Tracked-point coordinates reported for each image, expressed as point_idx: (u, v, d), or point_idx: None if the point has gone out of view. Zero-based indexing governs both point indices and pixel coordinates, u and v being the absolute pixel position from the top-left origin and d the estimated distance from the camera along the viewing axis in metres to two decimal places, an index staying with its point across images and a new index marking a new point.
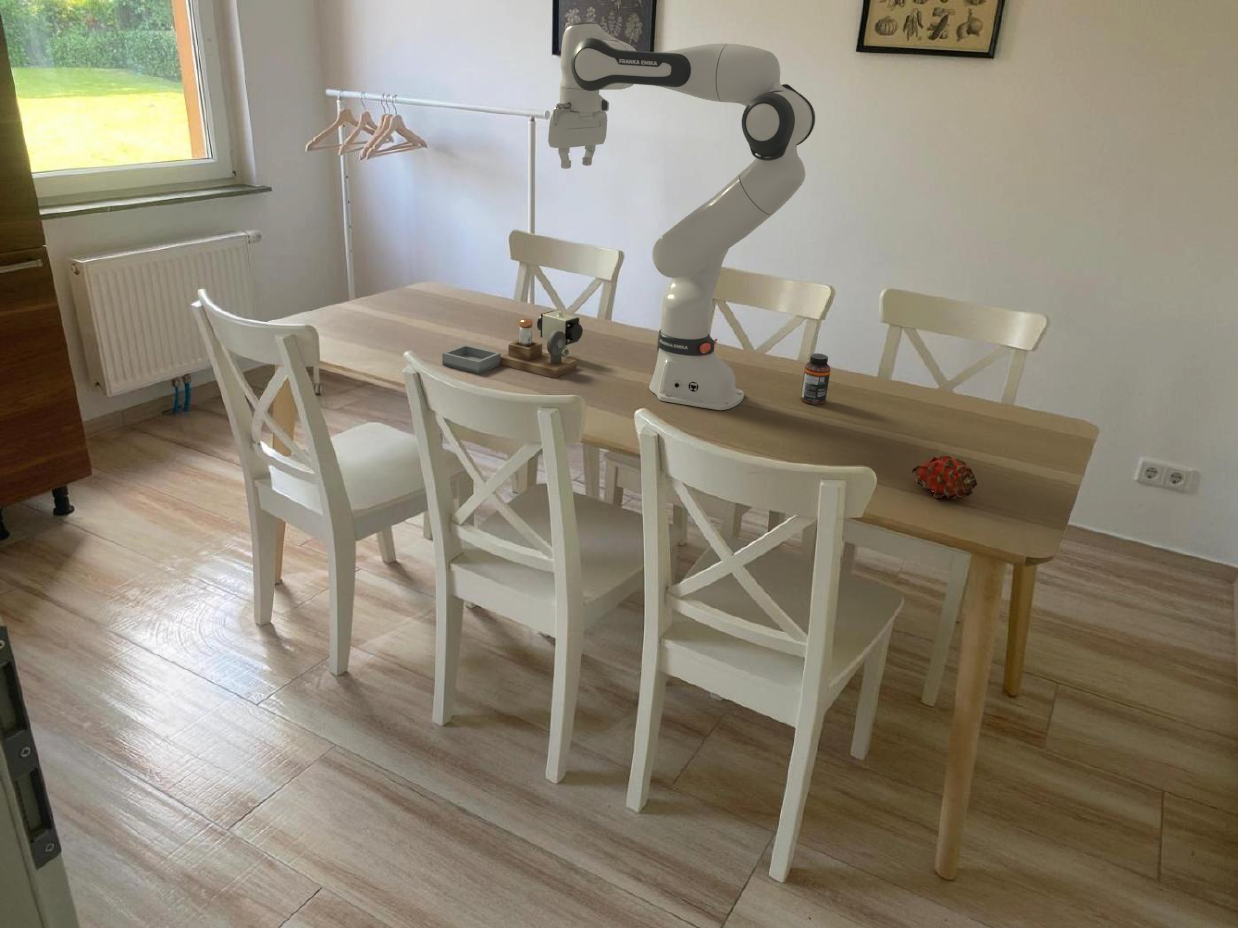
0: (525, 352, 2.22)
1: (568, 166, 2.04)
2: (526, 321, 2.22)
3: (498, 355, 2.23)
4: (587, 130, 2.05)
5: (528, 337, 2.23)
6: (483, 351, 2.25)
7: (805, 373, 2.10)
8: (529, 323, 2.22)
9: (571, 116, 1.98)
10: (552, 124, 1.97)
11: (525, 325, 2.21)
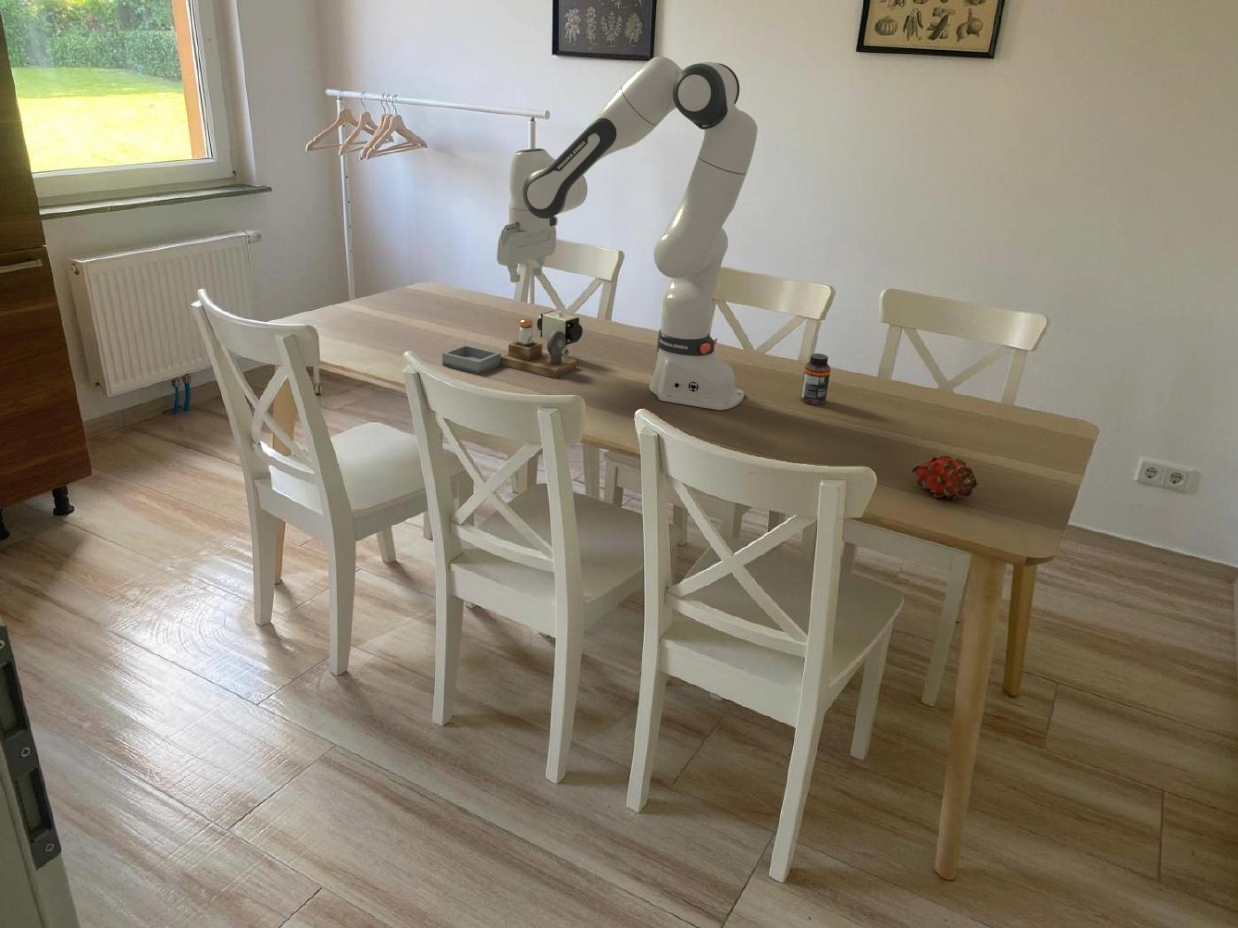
0: (525, 352, 2.22)
1: (517, 280, 2.14)
2: (526, 321, 2.22)
3: (498, 355, 2.23)
4: (535, 245, 2.15)
5: (528, 337, 2.23)
6: (483, 351, 2.25)
7: (805, 373, 2.10)
8: (529, 323, 2.22)
9: (519, 236, 2.08)
10: (500, 244, 2.07)
11: (525, 325, 2.21)
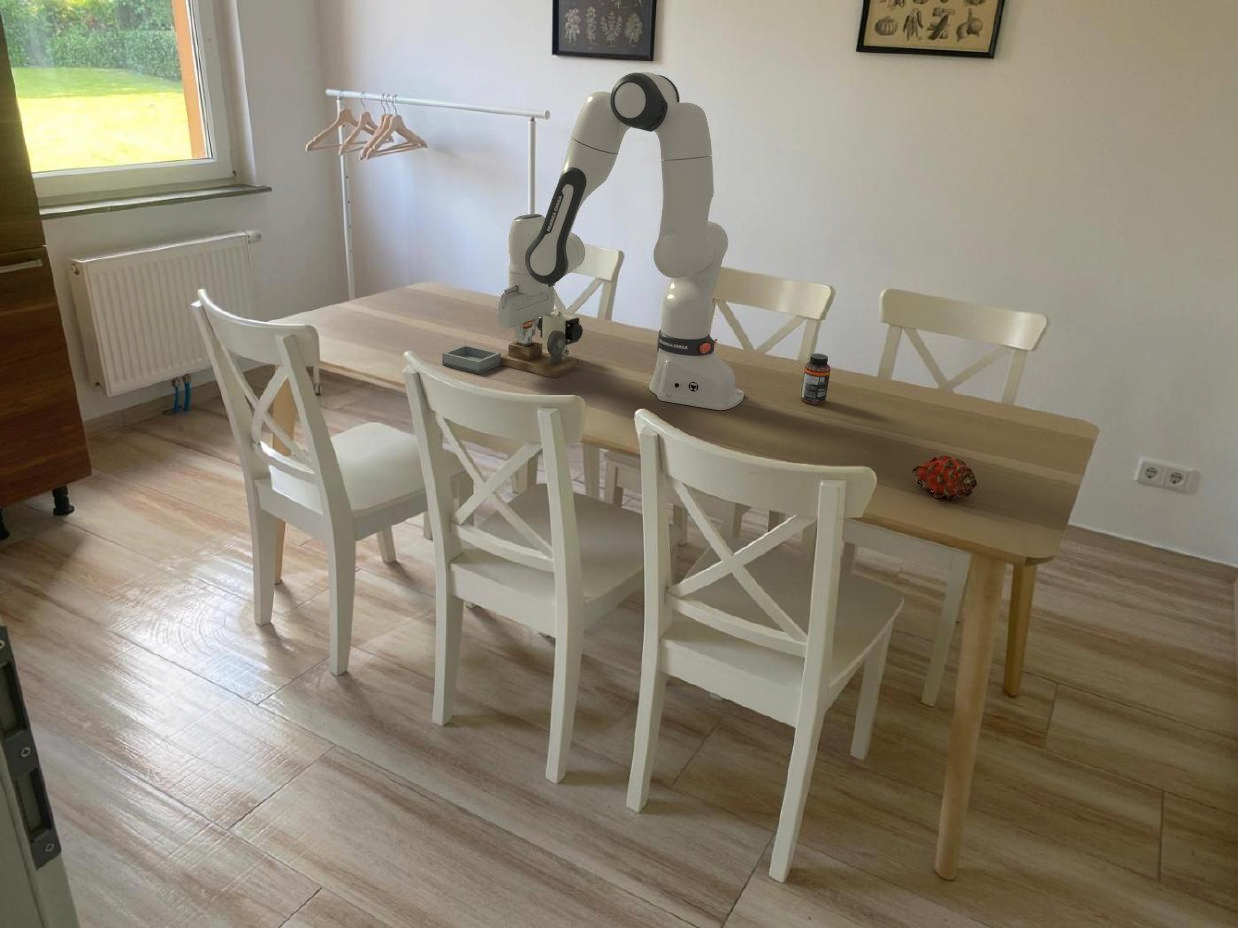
0: (525, 352, 2.22)
1: (522, 338, 2.22)
2: None
3: (498, 355, 2.23)
4: (535, 306, 2.21)
5: (528, 337, 2.23)
6: (483, 351, 2.25)
7: (805, 373, 2.10)
8: (529, 323, 2.22)
9: (518, 299, 2.14)
10: (500, 307, 2.13)
11: (525, 325, 2.21)
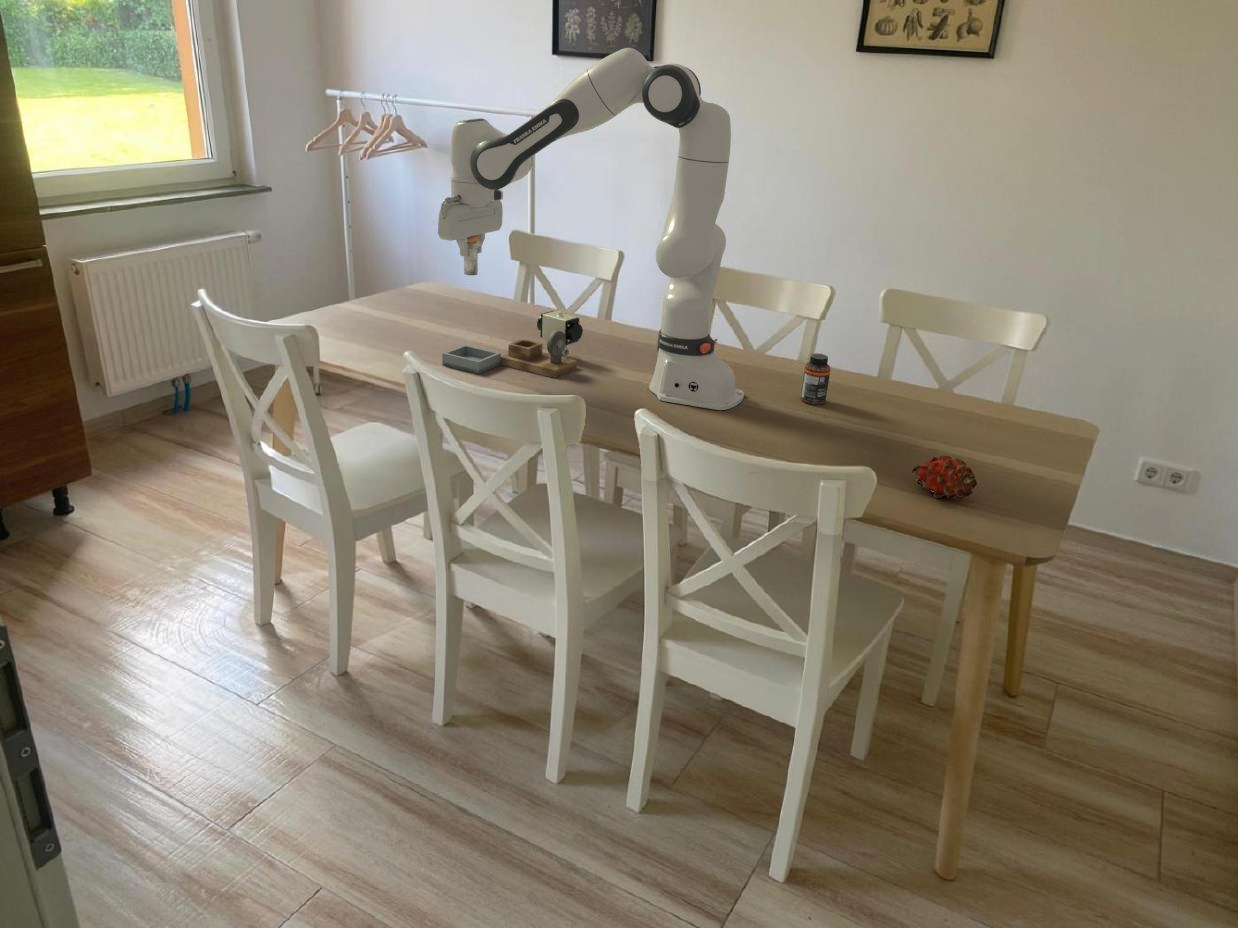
0: (525, 352, 2.22)
1: (467, 254, 2.09)
2: (471, 236, 2.10)
3: (498, 355, 2.23)
4: (480, 220, 2.09)
5: (473, 253, 2.11)
6: (483, 351, 2.25)
7: (805, 373, 2.10)
8: (474, 238, 2.09)
9: (460, 209, 2.02)
10: (441, 217, 2.01)
11: (470, 240, 2.09)
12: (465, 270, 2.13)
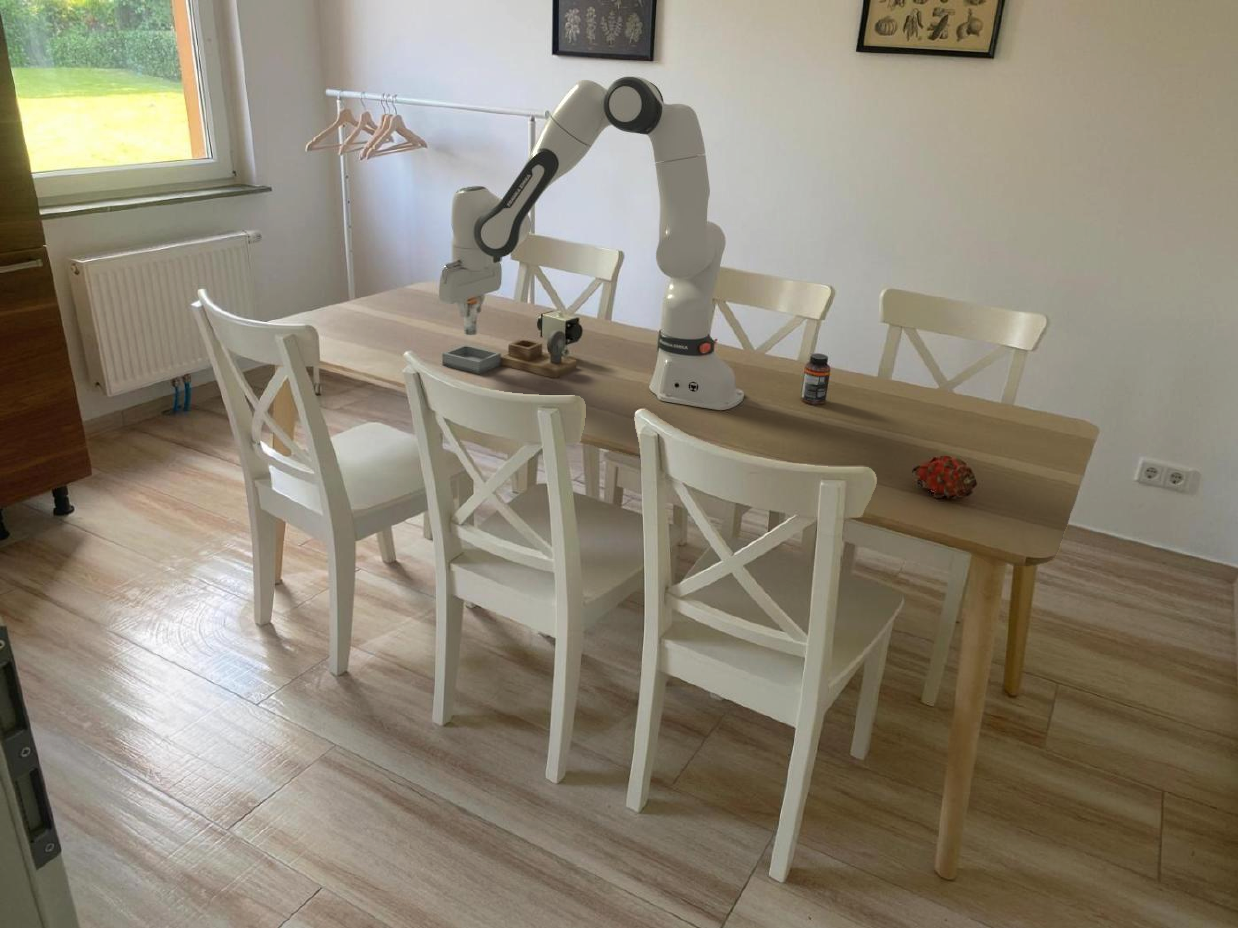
0: (525, 352, 2.22)
1: (467, 315, 2.15)
2: None
3: (498, 355, 2.23)
4: (479, 282, 2.15)
5: (472, 314, 2.17)
6: (483, 351, 2.25)
7: (805, 373, 2.10)
8: (474, 299, 2.15)
9: (460, 274, 2.08)
10: (442, 282, 2.07)
11: (470, 302, 2.15)
12: (465, 330, 2.19)
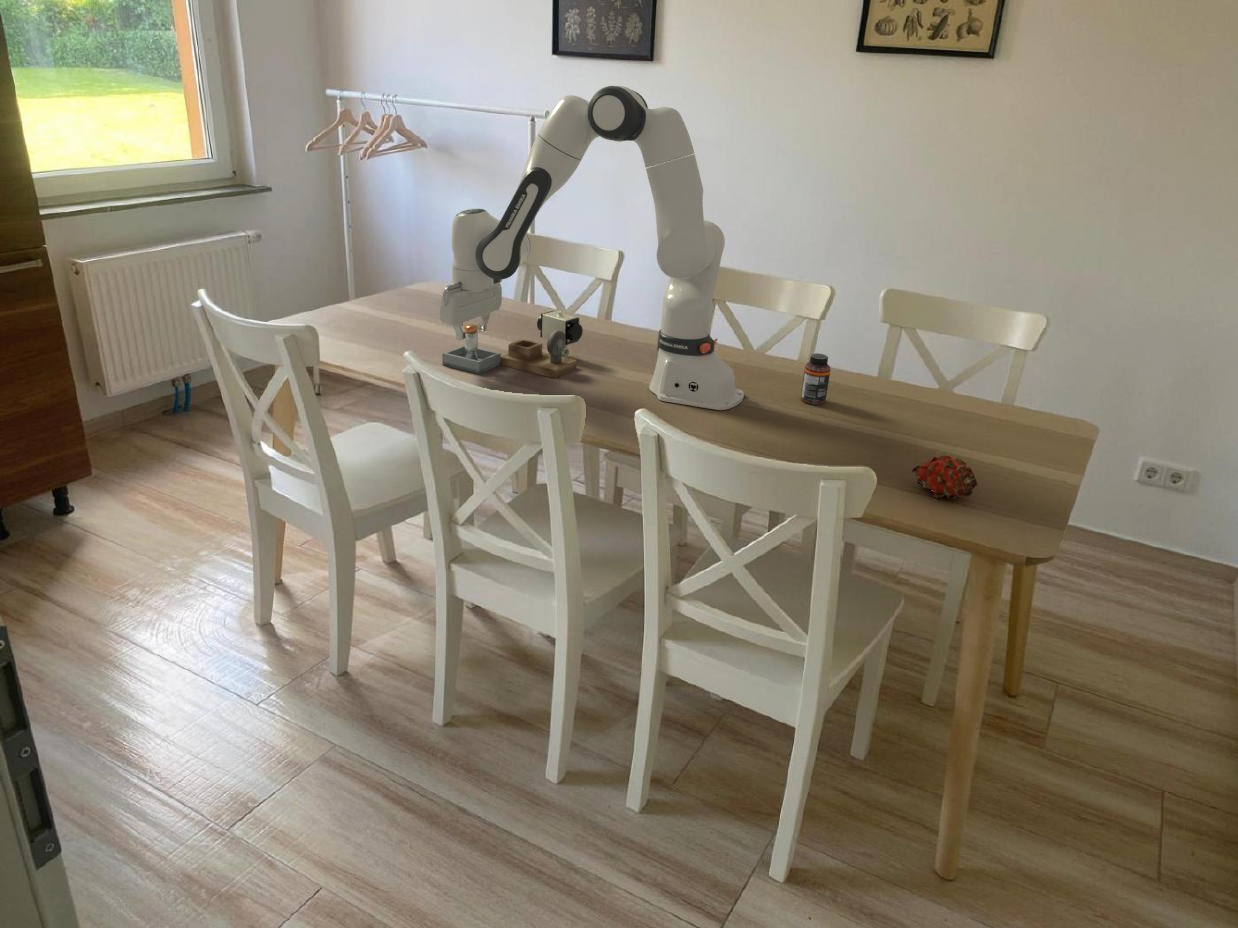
0: (525, 352, 2.22)
1: (462, 338, 2.16)
2: (471, 327, 2.19)
3: (498, 355, 2.23)
4: (480, 303, 2.17)
5: (473, 342, 2.20)
6: (483, 351, 2.25)
7: (805, 373, 2.10)
8: (474, 328, 2.18)
9: (461, 295, 2.10)
10: (443, 304, 2.09)
11: (470, 331, 2.18)
12: None
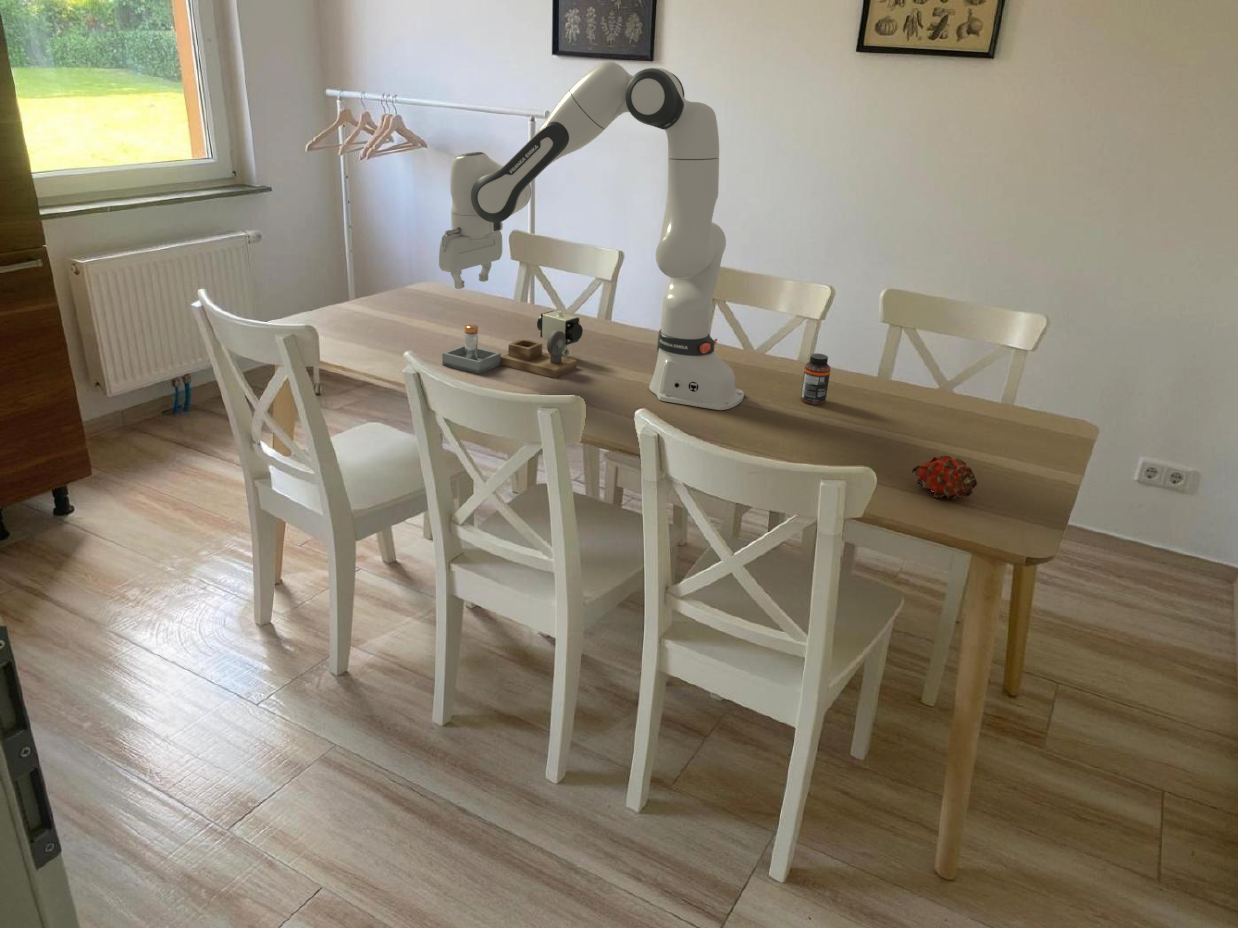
0: (525, 352, 2.22)
1: (461, 286, 2.10)
2: (471, 327, 2.19)
3: (498, 355, 2.23)
4: (480, 251, 2.12)
5: (473, 343, 2.20)
6: (483, 351, 2.25)
7: (805, 373, 2.10)
8: (474, 329, 2.18)
9: (460, 241, 2.05)
10: (442, 250, 2.04)
11: (470, 331, 2.18)
12: None
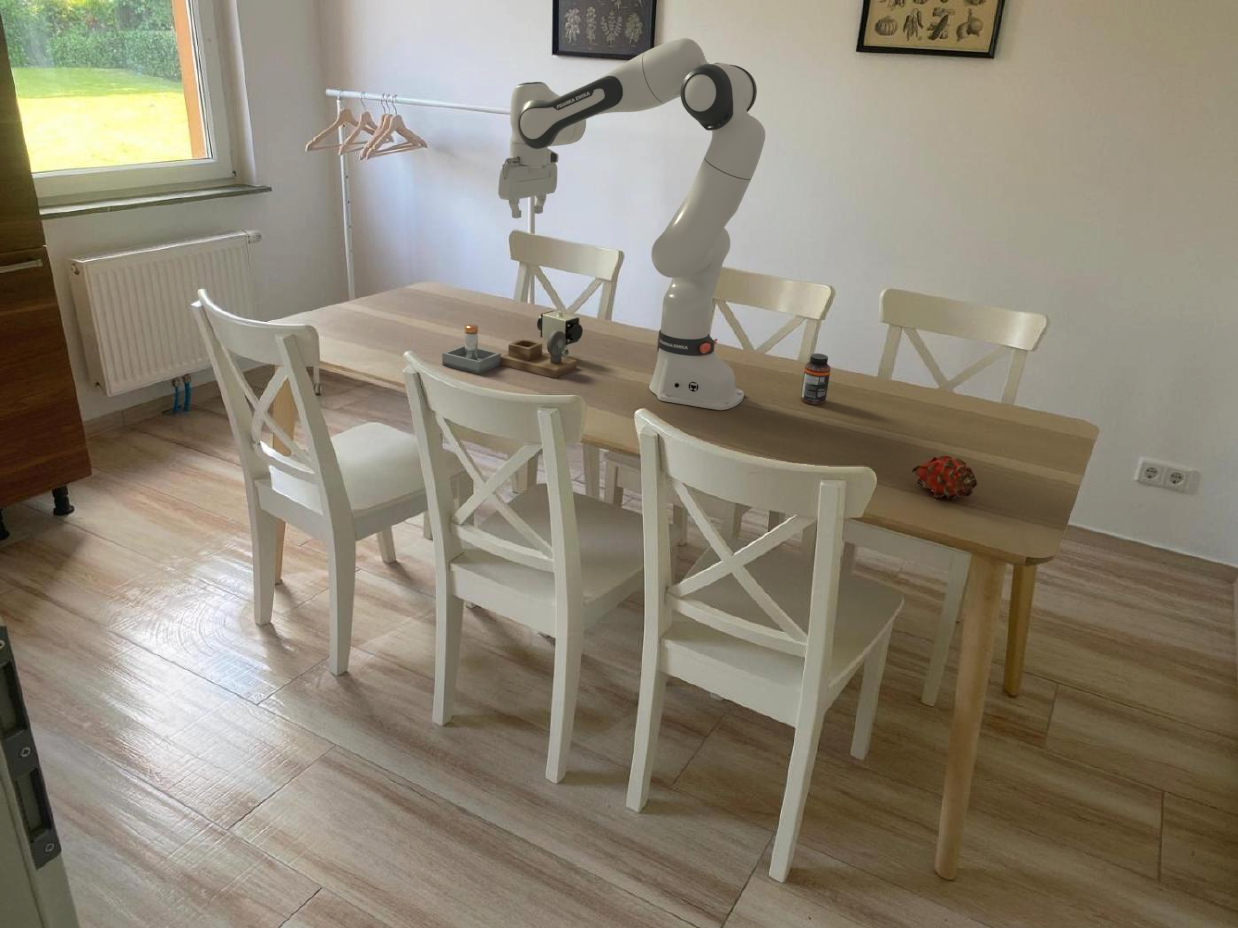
0: (525, 352, 2.22)
1: (518, 216, 2.14)
2: (471, 327, 2.19)
3: (498, 355, 2.23)
4: (537, 181, 2.16)
5: (473, 343, 2.20)
6: (483, 351, 2.25)
7: (805, 373, 2.10)
8: (474, 329, 2.18)
9: (520, 170, 2.09)
10: (502, 178, 2.08)
11: (470, 331, 2.18)
12: None
